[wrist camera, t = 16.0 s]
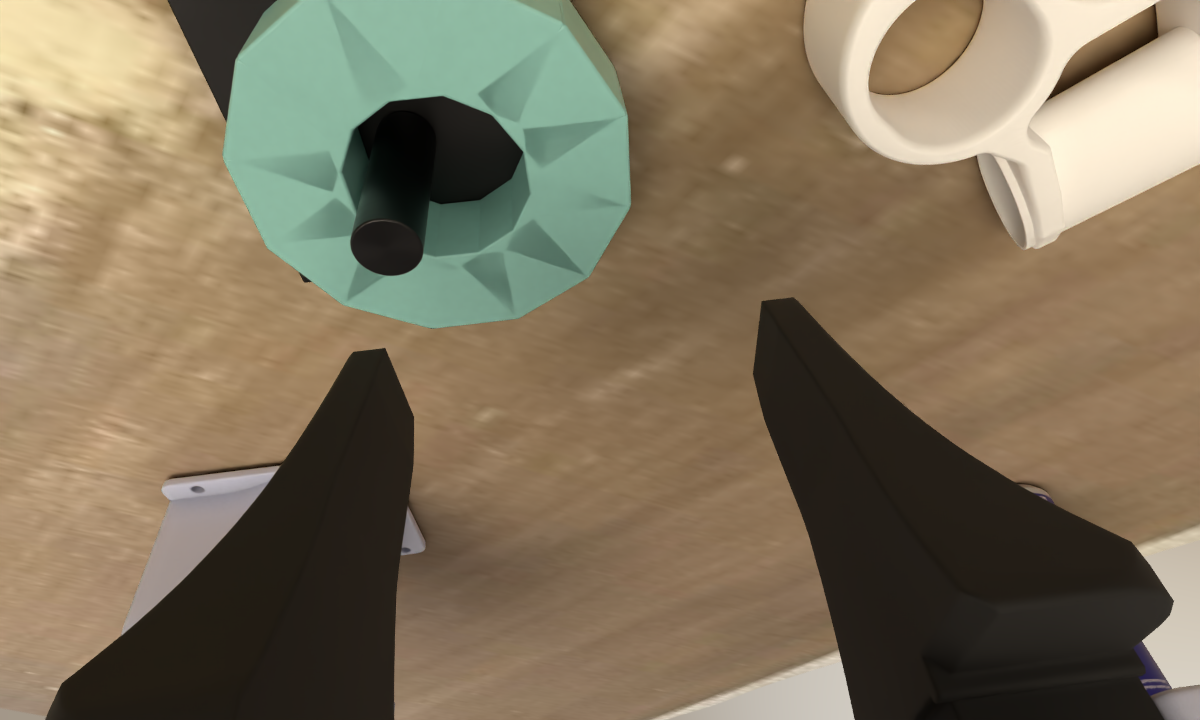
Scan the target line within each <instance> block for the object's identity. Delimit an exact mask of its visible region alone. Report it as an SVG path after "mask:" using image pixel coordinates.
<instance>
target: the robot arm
mask: <svg viewBox="0 0 1200 720" xmlns="http://www.w3.org/2000/svg"><path fill="white" fill-rule="evenodd" d="M753 376H754V380H755V384H756V388H757V393H758V397H759V401H760V405H761V408H762V412H763V416H764V420H765V422H766V425H767V428H768V430H769V433H770V436H771V438H772V441H773V443H774V446H775V448H776V451H777V454H778V456H779V459H780V461H781V464H782V466H783V469H784V471H785V474H786V476H787V479H788V481H789V484H790V486H791V489H792V492H793V494H794V497H795V499H796V502H797V504H798V507H799V509H800V512H801V514H802V517H803V520H804V523H805V526H806V529H807V531H808V534H809V537H810V541H811V545H812V548H813V552H814V555H815V559H816V563H817V566H818V570H819V573H820V577H821V580H822V584H823V588H824V592H825V596H826V600H827V604H828V607H829V611H830V615H831V619H832V623H833V627H834V631H835V635H836V639H837V643H838V648H839V652H840V656H841V660H842V664H843V668H844V673H845V677H846V681H847V686H848V691H849V695H850V700H851V704H852V709H853V714H854V718H855V720H1200V685H1194V686H1187V687H1179V688H1174V689H1169V690H1165V691H1162V692H1159V693H1156V694H1154V695H1152V696H1150V695H1149V693H1148V692H1147V690H1146V689H1145V687H1144V685H1143V684H1142V682H1141V680H1140V679H1139V676H1143V675H1144V674H1145V673H1146V669H1145V666H1144V664H1143V663H1142V661H1141V659H1140V658H1139V656H1138V655H1137V653H1136V652H1135V650H1134V647H1135V646H1136V645H1137V644H1139V643H1140V642H1141V641H1142V640H1143V639H1144V638H1145V637H1147V636H1148V635H1149V634H1150V633H1152V632H1153V631H1154V630H1155V629H1156V628H1157V627H1159V626H1160V625H1161V624H1162V623H1163V622H1164V621H1165V620H1166V619H1167V617H1168V616H1169V615H1170V613H1171V610H1172V606H1173V602H1174V601H1173V599H1172V597H1171V596H1170V595H1169V593H1168V592H1167V590H1166V589H1165V587H1164V586H1163V584H1162V583H1161V581H1160V580H1159V578H1158V577H1157V575H1156V574H1155V572H1154V571H1153V569H1152V568H1151V566H1150V565H1149V564H1148V562H1147V561H1146V560H1145V558H1144V557H1143V556H1142V555H1141V553H1140V552H1139V551H1138V550H1137V548H1136V547H1135V546H1134V545H1133V543H1132V542H1130V541H1128V540H1126V539H1124V538H1122V537H1120V536H1118V535H1116V534H1114V533H1111V532H1109V531H1107V530H1105V529H1103V528H1101V527H1099V526H1097V525H1095V524H1093V523H1091V522H1088V521H1086V520H1084V519H1082V518H1080V517H1078V516H1076V515H1074V514H1072V513H1070V512H1068V511H1066V510H1064V509H1062V508H1060V507H1058V506H1056V505H1054V504H1053V503H1051V502H1049V501H1047V500H1045V499H1043V498H1042V497H1040V496H1038V495H1036V494H1034V493H1032V492H1030V491H1029V490H1027V489H1025V488H1023V487H1022V486H1020V485H1018V484H1017V483H1015V482H1013V481H1011V480H1010V479H1008V478H1006V477H1005V476H1003V475H1002V474H1000V473H998V472H997V471H995V470H994V469H992V468H990V467H989V466H987V465H986V464H984V463H982V462H981V461H979V460H978V459H976V458H974V457H973V456H971V455H970V454H968V453H967V452H965V451H964V450H962V449H961V448H959V447H958V446H956V445H955V444H954V443H952V442H951V441H949V440H948V439H947V438H945V437H944V436H942V435H941V434H940V433H938V432H937V431H936V430H934V429H933V428H932V427H930V426H929V425H928V424H926V423H925V422H924V421H923V420H921V419H920V418H919V417H918V416H916V415H915V414H914V413H913V412H911V411H910V410H909V409H908V408H906V407H905V406H904V405H903V404H902V403H901V402H899V401H898V400H897V399H896V398H895V397H894V396H893V395H891V394H890V393H889V392H888V391H887V390H886V389H884V388H883V387H882V386H881V385H880V384H879V383H878V382H877V381H876V380H875V379H873V378H872V377H871V376H870V375H869V374H868V373H867V372H866V371H865V370H864V369H863V368H862V367H861V366H860V365H859V364H858V363H857V362H856V361H855V360H854V359H853V358H852V357H851V356H850V355H849V354H848V353H847V352H846V351H845V350H844V349H843V348H842V347H841V346H840V345H839V344H838V343H837V342H836V341H835V340H834V339H833V338H832V337H831V336H830V335H829V334H828V333H827V332H826V331H825V330H824V329H823V328H822V327H821V325H820V324H819V323H818V322H817V321H816V320H815V319H814V318H813V317H812V316H811V315H810V314H809V313H808V311H807V310H806V309H805V308H804V307H803V306H802V305H801V304H800V303H799V302H798V301H797V300H796V299H795V298H794V297H792V298H784V299H776V300H768V301H762V304H761V312H760V321H759V329H758V337H757V345H756V354H755V362H754V370H753ZM413 461H414V416H413V413H412V411H411V409H410V406H409V404H408V402H407V399H406V397H405V394H404V392H403V390H402V387H401V385H400V382H399V380H398V378H397V375H396V373H395V370H394V368H393V366H392V363H391V361H390V358H389V356H388V354H387V351H386V349H385V348H382V349H374V350H366V351H358V352H353V353H352V354H351V355H350V357H349V358H348V360H347V362H346V363H345V365H344V367H343V368H342V370H341V372H340V374H339V375H338V377H337V379H336V380H335V382H334V384H333V385H332V387H331V389H330V391H329V392H328V394H327V396H326V397H325V399H324V400H323V402H322V404H321V405H320V407H319V409H318V410H317V412H316V414H315V415H314V417H313V418H312V420H311V421H310V423H309V424H308V426H307V428H306V429H305V431H304V432H303V434H302V435H301V437H300V438H299V440H298V442H297V443H296V445H295V446H294V447H293V449H292V450H291V452H290V453H289V455H288V456H287V457H286V459H285V460H284V462H283V463H282V464H281V465H280V466H272V467H264V468H255V469H247V470H239V471H231V472H223V473H215V474H207V475H199V476H190V477H182V478H174V479H169V480H166V481H165V482H164V484H163V487H162V490H161V491H162V493H163V494H164V495H165V496H166V497H167V498H168V499H169V500H170V503H169V505H168V508H167V511H166V513H165V516H164V519H163V521H162V524H161V527H160V529H159V532H158V535H157V537H156V540H155V543H154V545H153V548H152V551H151V553H150V556H149V559H148V561H147V564H146V567H145V569H144V572H143V575H142V577H141V580H140V583H139V585H138V588H137V591H136V593H135V596H134V598H133V601H132V604H131V606H130V609H129V612H128V614H127V617H126V620H125V623H124V626H123V630H122V634H121V636H120V637H119V638H118V639H117V640H115V641H114V642H113V643H112V644H110V645H109V646H108V647H107V648H106V649H104V650H103V651H102V652H101V653H99V654H98V655H97V656H96V657H94V658H93V659H92V660H91V661H89V662H88V663H87V664H86V665H85V666H83V667H82V668H81V669H80V670H78V671H77V672H76V673H75V674H73V675H72V676H71V677H69V678H68V679H67V680H66V681H64V682H63V683H62V684H61V686H60V688H59V690H58V692H57V695H56V697H55V699H54V701H53V703H52V705H51V707H50V710H49V712H48V714H47V717H46V720H394V710H395V703H394V656H395V619H396V592H397V581H398V571H399V563H400V556H401V555H408V554H416V553H420V552H422V551H424V550H425V544H426V543H425V540H424V538H423V536H422V534H421V532H420V529H419V527H418V525H417V523H416V521H415V519H414V517H413V515H412V513H411V511H410V509H409V507H408V501H409V494H410V487H411V479H412V472H413Z"/></svg>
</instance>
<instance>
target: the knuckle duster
mask: <svg viewBox="0 0 1200 720" xmlns="http://www.w3.org/2000/svg"><path fill="white" fill-rule="evenodd" d="M914 1H916V0H806V6H805V12H804V25H803V32H804V44H805V50H806V55H807V58H808V61H809V64H810V67H811V69H812V72H813V74H814V75H815V77H816V79H817V81H818V82H819V84H820V85H821V86H822V88H823V89H824V91H825V92H826V94H827V95H828V96H829V98H830V99H831V101H832V102H833V103H834V105H835V106H836V108H837V109H838V111H839V112H840V113H841V115H842V116H843V118H844V119H845V120H846V122H847V123H848V125H849V126H850V127H851V129H852V130H853V132H854V133H855V134H856V135H857V137H858V138H859V139H860V140H861V141H862V142H863V143H864V144H866V145H867V146H868V147H869V148H871V149H872V150H873V151H875V152H877V153H878V154H880V155H882V156H884V157H887V158H889V159H892V160H895V161H898V162H902V163H908V164H916V165H936V164H944V163H950V162H955V161H959V160H963V159H966V158H970V157H973V156H976V155H977V160H978V164H979V168H980V171H981V174H982V177H983V180H984V183H985V186H986V188H987V191H988V193H989V195H990V198H991V200H992V202H993V204H994V207H995V209H996V211H997V213H998V215H999V217H1000V219H1001V221H1002V223H1003V225H1004V226H1005V228H1006V230H1007V231H1008V233H1009V235H1010V236H1011V238H1012V239H1013V240H1014V242H1015V243H1016V244H1017V245H1018V246H1019V247H1020V248H1021V249H1022V250H1026V249H1028V248H1030V247H1033V248H1035V249H1039V248H1041V247H1043V246H1045V245H1047V244H1049V243H1051V242H1053V241H1055V240H1056V239H1057V238H1058V236H1059V234H1060V233H1061V232H1063V231H1065V230H1067V229H1069V228H1071V227H1073V226H1075V225H1077V224H1079V223H1081V222H1083V221H1085V220H1087V219H1089V218H1091V217H1093V216H1095V215H1097V214H1099V213H1101V212H1103V211H1105V210H1107V209H1109V208H1111V207H1113V206H1115V205H1118V204H1120V203H1122V202H1124V201H1126V200H1128V199H1130V198H1132V197H1134V196H1136V195H1138V194H1140V193H1142V192H1144V191H1146V190H1148V189H1150V188H1152V187H1154V186H1156V185H1158V184H1160V183H1162V182H1164V181H1166V180H1168V179H1170V178H1172V177H1174V176H1176V175H1178V174H1180V173H1182V172H1184V171H1186V170H1188V169H1190V168H1192V167H1194V166H1196V165H1198V164H1200V0H983V10H982V15H981V19H980V22H979V25H978V28H977V30H976V32H975V35H974V37H973V38H972V40H971V42H970V44H969V45H968V47H967V48H966V50H965V51H964V52H963V54H962V55H961V56H960V57H959V59H958V60H957V61H956V62H955V63H954V64H953V65H952V66H951V67H950V68H949V69H948V70H947V71H946V72H944V73H943V74H942V75H941V76H939V77H938V78H936V79H935V80H934V81H932V82H930V83H929V84H927V85H925V86H923V87H921V88H919V89H916V90H914V91H911V92H907V93H903V94H898V95H881V94H876V93H873V92H871V91H869V89H868V80H869V72H870V67H871V63H872V60H873V57H874V55H875V52H876V50H877V48H878V46H879V44H880V42H881V40H882V38H883V37H884V35H885V34H886V32H887V31H888V29H889V28H890V26H891V25H892V24H893V23H894V21H895V20H896V19H897V18H898V17H899V16H900V14H901V13H902V12H903V11H904V10H905V9H906V8H908V7H909V6H910V5H911V4H912V3H913V2H914ZM1154 4H1155V5H1156V16H1157V27H1158V38H1157V39H1155V40H1153V41H1152V42H1150V43H1148V44H1146V45H1144V46H1143V47H1141V48H1139V49H1137V50H1136V51H1134V52H1132V53H1130V54H1129V55H1127V56H1125V57H1123V58H1122V59H1120V60H1118V61H1116V62H1114V63H1113V64H1111V65H1109V66H1107V67H1106V68H1104V69H1102V70H1100V71H1099V72H1097V73H1095V74H1093V75H1091V76H1090V77H1088V78H1086V79H1084V80H1083V81H1081V82H1079V83H1077V84H1076V85H1074V86H1072V87H1070V88H1069V89H1067V90H1065V91H1063V92H1062V93H1060V94H1058V95H1056V96H1054V97H1053V98H1051V99H1049V100H1047V101H1046V99H1047V98H1048V97H1049V95H1050V94H1051V92H1052V90H1053V89H1054V87H1055V85H1056V84H1057V82H1058V80H1059V78H1060V76H1061V74H1062V71H1063V69H1064V67H1065V65H1066V64H1067V62H1068V61H1069V59H1070V58H1071V57H1072V56H1073V55H1074V54H1075V53H1076V52H1077V51H1078V50H1079V49H1080V48H1081V47H1082V46H1084V45H1085V44H1087V43H1088V42H1090V41H1092V40H1093V39H1095V38H1097V37H1098V36H1100V35H1102V34H1104V33H1105V32H1107V31H1109V30H1110V29H1112V28H1114V27H1116V26H1117V25H1119V24H1121V23H1123V22H1124V21H1126V20H1128V19H1129V18H1131V17H1133V16H1135V15H1136V14H1138V13H1140V12H1141V11H1143V10H1145V9H1147V8H1148V7H1150V6H1152V5H1154ZM1045 101H1046V102H1045Z"/></svg>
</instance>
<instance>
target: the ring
mask: <svg viewBox="0 0 1200 720" xmlns="http://www.w3.org/2000/svg"><path fill="white" fill-rule="evenodd" d="M437 96H445V97H447V98H450V99H453V100H455V101H458V102H460V103H463V104H465V105H468V106H470V107H473V108H475V109H478V110H480V111H483V112H485V113H488V114H490V115H492V116H493V117H494V118H495V119H496V120H497V122H498V123H499V124H500V125H501V126H502V127H503V129H504V130H505V131H506V132H507V133H508V134H509V136H510V137H511V138H512V139H513V140H514V142H515V143H516V144H517V145H518V146H519V147H520V149H521V150H522V151H523V154H522V157H521V159H520V161H519V163H518V166H517V168H516V170H515V172H514V174H513V177H512V179H510V180H509V181H507V182H506V183H505V184H503V185H502V186H500V187H499V188H497V189H496V190H494V191H493V192H491V193H490V194H488V195H487V196H485V197H484V198H482V199H481V200H475V201H466V202H457V203H448V204H438V203H435V202H432V201H430V202H429V210H428V219H427V227H426V236H425V244H424V252H423V257H422V260H421V262H420V263H419V264H418V266H417V267H416V268H414V269H413V270H412V271H410V272H408V273H406V274H403V275H398V276H385V275H380V274H376V273H374V272H371V271H369V270H368V269H366V268H365V267H363V266H362V265H361V264H360V263H359V262H358V261H357V260H356V259H355V257H354V255H353V253H352V251H351V247H350V239H351V234H352V230H353V226H354V222H355V217H356V213H357V209H358V205H359V201H360V197H361V193H362V188H363V184H364V180H365V176H366V172H367V168H368V164H369V160H368V157H367V154H366V151H365V148H364V145H363V142H362V139H361V136H360V133H359V130H358V126H359V125H360V124H362V123H363V122H364V121H366V120H367V119H368V118H369V117H371V116H372V115H373V114H374V113H376V112H377V111H378V110H380V109H381V108H382V107H383V106H385V105H386V104H387V103H388V102H390V101H400V100H409V99H418V98H427V97H437ZM222 155H223V158H224V163H225V165H226V167H227V169H228V171H229V173H230V175H231V177H232V179H233V181H234V183H235V185H236V187H237V189H238V191H239V193H240V195H241V197H242V199H243V201H244V203H245V205H246V207H247V209H248V211H249V213H250V215H251V217H252V219H253V221H254V223H255V225H256V227H257V229H258V231H259V233H260V235H261V237H262V239H263V241H264V242H265V244H266V245H267V246H266V247H267V248H268V249H269V250H270V251H272V252H273V253H274V254H276V255H277V256H278V257H280V258H281V259H282V260H284V261H285V262H286V263H288V264H289V265H290V266H292V267H293V268H294V269H296V270H297V271H298V272H300V273H301V274H302V275H304V276H305V277H306V278H308V279H309V280H310V281H312V282H313V283H314V284H316V285H317V286H318V287H320V288H321V289H322V290H324V291H325V292H326V293H328V294H329V295H330V296H332V297H333V298H334V299H336V300H337V301H338V302H340V303H341V304H342V305H344V306H348V307H352V308H356V309H359V310H363V311H367V312H371V313H374V314H378V315H382V316H386V317H389V318H393V319H397V320H401V321H404V322H408V323H412V324H416V325H420V326H423V327H427V328H431V329H432V328H433V329H434V328H443V327H451V326H460V325H469V324H477V323H486V322H495V321H503V320H512V319H519V318H521V317H522V316H524V315H526V314H527V313H529V312H531V311H532V310H534V309H536V308H537V307H539V306H541V305H543V304H544V303H546V302H548V301H549V300H551V299H553V298H554V297H556V296H558V295H560V294H561V293H563V292H565V291H566V290H568V289H570V288H571V287H573V286H575V285H576V284H578V283H580V282H582V281H583V280H585V279H587V278H588V277H589V276H590V274H591V273H592V271H593V269H594V268H595V266H596V264H597V263H598V261H599V259H600V258H601V256H602V254H603V253H604V251H605V249H606V247H607V246H608V244H609V242H610V241H611V239H612V237H613V236H614V234H615V232H616V231H617V229H618V227H619V226H620V224H621V222H622V221H623V219H624V217H625V215H626V214H627V212H628V210H629V209H630V207H631V187H630V160H629V133H628V115H627V111H626V107H625V103H624V100H623V96H622V92H621V89H620V85H619V81H618V77H617V74H616V71H615V68H614V66H613V64H612V63H611V61H610V60H609V58H608V57H607V55H606V54H605V52H604V51H603V49H602V48H601V46H600V45H599V43H598V42H597V40H596V39H595V37H594V36H593V35H592V33H591V32H590V30H589V29H588V27H587V26H586V24H585V23H584V21H583V20H582V18H581V17H580V15H579V14H578V12H577V11H576V9H575V8H574V6H573V5H572V3H571V2H570V0H277V1H276V2H274V3H273V4H272V5H271V6H270V7H269V8H268V9H267V10H266V11H265V12H264V13H263V15H262V16H261V18H260V20H259V21H258V23H257V25H256V26H255V28H254V29H253V31H252V33H251V34H250V36H249V38H248V39H247V41H246V43H245V44H244V46H243V48H242V49H241V51H240V52H239V54H238V57H237V58H236V60H235V66H234V73H233V81H232V88H231V95H230V103H229V110H228V117H227V125H226V132H225V139H224V147H223V154H222Z"/></svg>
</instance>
